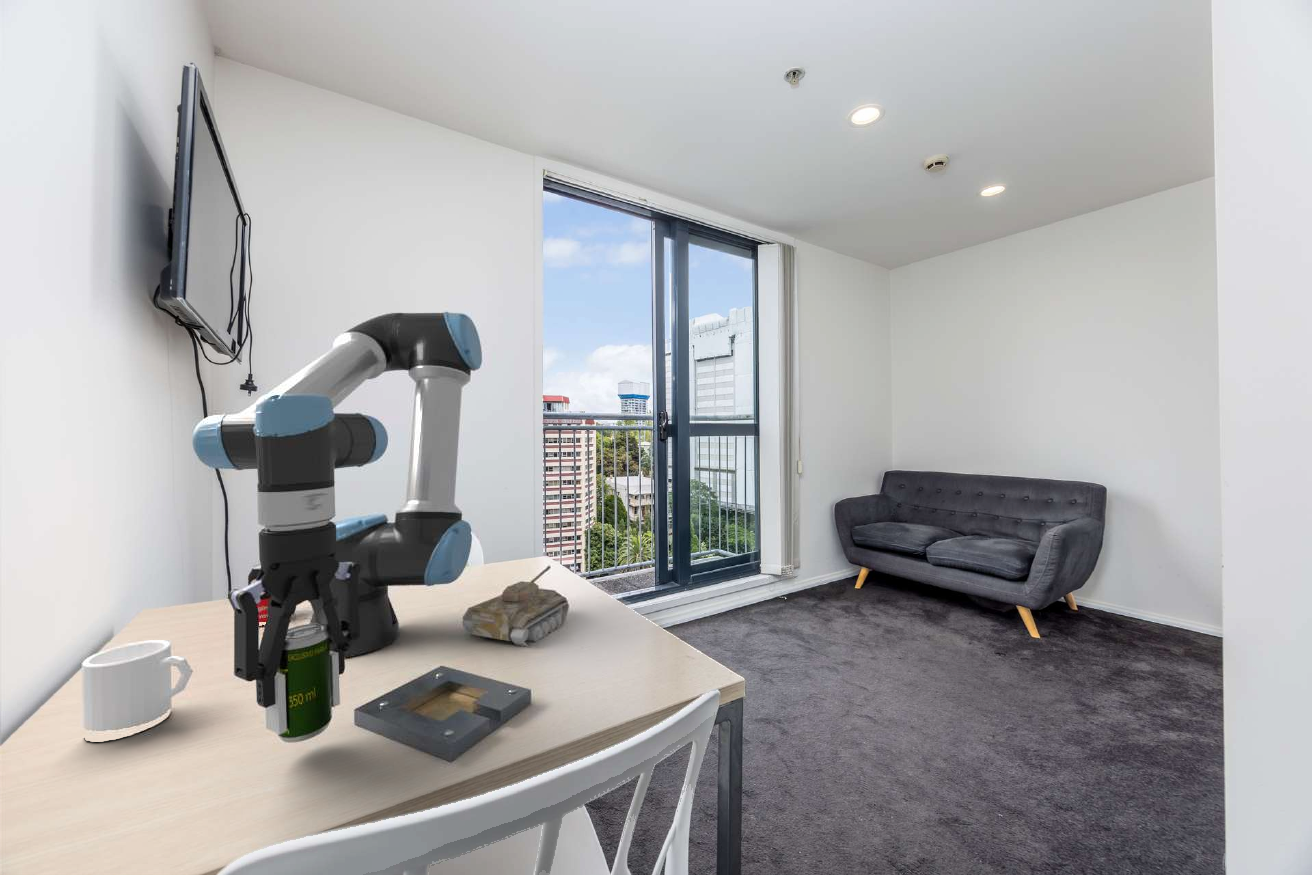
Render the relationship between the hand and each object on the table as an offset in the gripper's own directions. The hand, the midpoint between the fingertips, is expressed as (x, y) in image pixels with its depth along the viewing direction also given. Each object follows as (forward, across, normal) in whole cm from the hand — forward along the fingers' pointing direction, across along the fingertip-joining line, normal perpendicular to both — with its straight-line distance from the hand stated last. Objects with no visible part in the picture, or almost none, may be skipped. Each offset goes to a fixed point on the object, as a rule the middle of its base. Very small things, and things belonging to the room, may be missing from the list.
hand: (304, 715), depth 60 cm
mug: (+5, -6, +27) cm, 28 cm away
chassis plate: (+5, +13, -8) cm, 16 cm away
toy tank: (+6, +43, +4) cm, 44 cm away
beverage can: (+6, +22, +55) cm, 59 cm away
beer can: (+2, 0, 0) cm, 2 cm away
